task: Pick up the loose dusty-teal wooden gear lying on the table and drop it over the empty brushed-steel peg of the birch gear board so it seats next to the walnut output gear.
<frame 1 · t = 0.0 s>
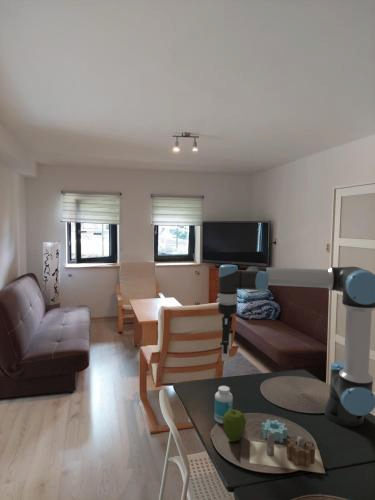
hand: (226, 354, 141), 28 cm above the table, fingers open, 13 cm apart
apple: (233, 440, 130), on the table
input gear: (274, 438, 131), on the table
pill bottle: (223, 420, 143), on the table
gear board: (285, 460, 119), on the table
output gear: (300, 450, 118), point 4 cm above the table, hinge at 0.0°
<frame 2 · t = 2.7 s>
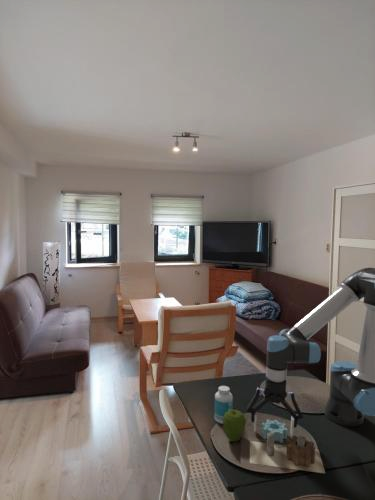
hand: (273, 432, 131), 3 cm above the table, fingers open, 13 cm apart
nothing on the table moved.
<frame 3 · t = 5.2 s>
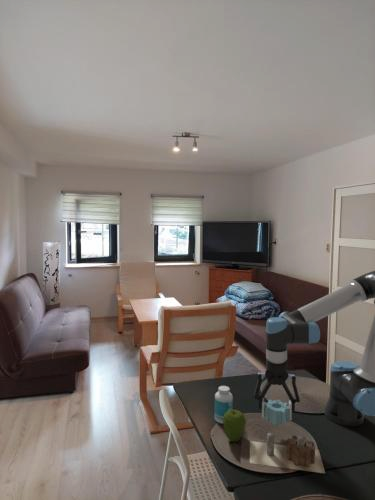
hand: (276, 417, 130), 8 cm above the table, fingers closed on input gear, 9 cm apart
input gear: (276, 418, 130), point 8 cm above the table, touching gripper
everything else where it was.
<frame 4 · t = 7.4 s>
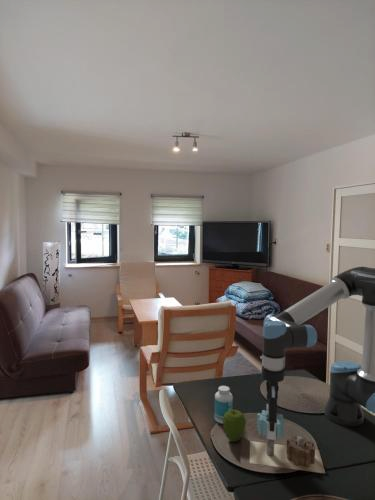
hand: (270, 430, 119), 10 cm above the table, fingers closed on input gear, 9 cm apart
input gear: (270, 430, 119), point 10 cm above the table, touching gripper
everything else where it was.
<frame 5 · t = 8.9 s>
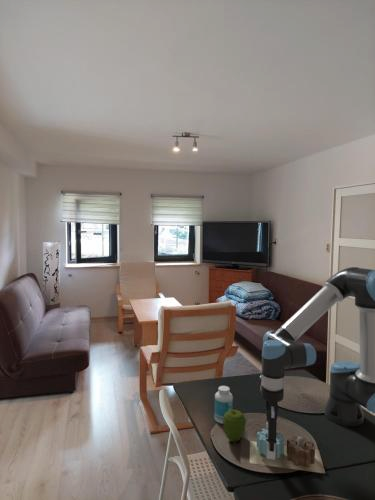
hand: (270, 449, 120), 3 cm above the table, fingers closed on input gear, 9 cm apart
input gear: (270, 449, 120), point 3 cm above the table, touching gripper
everything else where it was.
when the fingers open (3 cm above the table, at t = 9.8 s): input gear drops 1 cm, resting on gear board.
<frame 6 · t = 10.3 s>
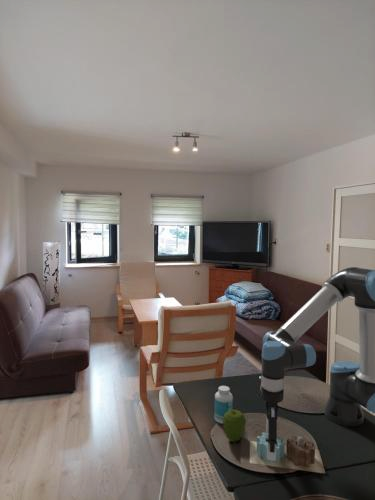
hand: (270, 446, 120), 4 cm above the table, fingers open, 13 cm apart
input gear: (270, 453, 120), point 1 cm above the table, touching gear board
everything else where it was.
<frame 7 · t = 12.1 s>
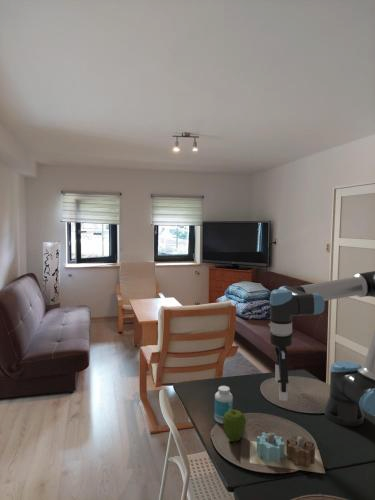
hand: (281, 390, 125), 21 cm above the table, fingers open, 13 cm apart
nothing on the table moved.
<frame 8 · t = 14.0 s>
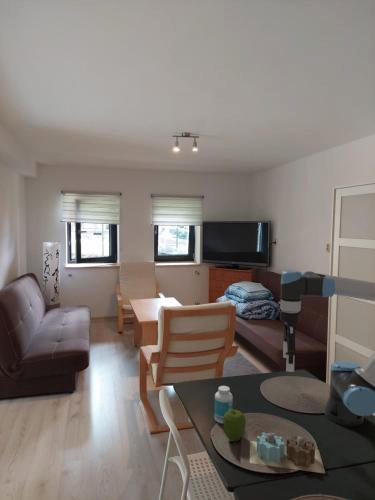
hand: (288, 364, 135), 27 cm above the table, fingers open, 13 cm apart
nothing on the table moved.
at the end: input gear 0.1 cm from the target spot on the gear board, point 1.5 cm above the gear board's base; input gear tilted 0°; the gripper is holding nothing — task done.
